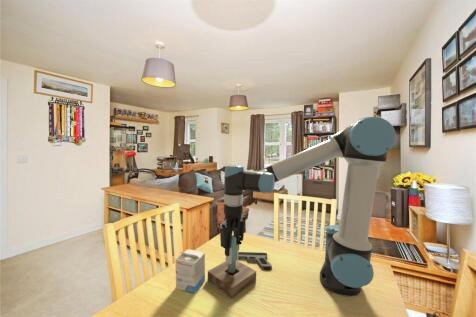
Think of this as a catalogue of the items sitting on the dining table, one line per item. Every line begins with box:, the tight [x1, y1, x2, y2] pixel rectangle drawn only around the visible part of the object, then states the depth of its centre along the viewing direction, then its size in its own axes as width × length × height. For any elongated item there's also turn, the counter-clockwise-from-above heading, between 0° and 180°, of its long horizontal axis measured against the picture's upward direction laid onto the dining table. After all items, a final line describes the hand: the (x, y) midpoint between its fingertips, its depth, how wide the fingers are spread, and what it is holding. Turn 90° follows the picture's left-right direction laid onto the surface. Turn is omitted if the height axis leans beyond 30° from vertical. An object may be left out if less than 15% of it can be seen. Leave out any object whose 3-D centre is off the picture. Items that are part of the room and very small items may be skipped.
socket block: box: [207, 260, 257, 299], centre depth 83 cm, size 14×14×4 cm
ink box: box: [174, 248, 206, 294], centre depth 80 cm, size 9×8×13 cm
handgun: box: [238, 251, 273, 271], centre depth 97 cm, size 2×17×12 cm
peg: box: [228, 234, 236, 273], centre depth 83 cm, size 3×3×14 cm
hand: (231, 260), depth 83 cm, fingers closed on peg, 3 cm apart
